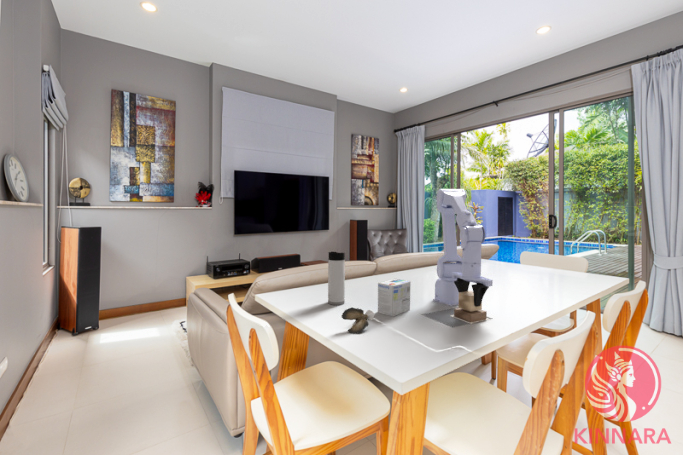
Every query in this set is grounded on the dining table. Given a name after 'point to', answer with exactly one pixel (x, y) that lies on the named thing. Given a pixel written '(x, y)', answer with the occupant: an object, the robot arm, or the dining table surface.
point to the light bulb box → (393, 297)
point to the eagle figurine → (357, 319)
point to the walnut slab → (470, 315)
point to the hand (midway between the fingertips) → (470, 303)
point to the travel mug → (336, 278)
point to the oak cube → (468, 301)
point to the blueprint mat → (449, 318)
